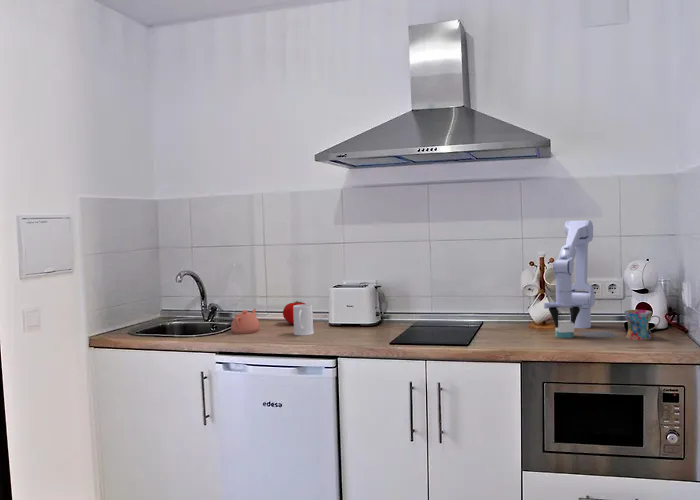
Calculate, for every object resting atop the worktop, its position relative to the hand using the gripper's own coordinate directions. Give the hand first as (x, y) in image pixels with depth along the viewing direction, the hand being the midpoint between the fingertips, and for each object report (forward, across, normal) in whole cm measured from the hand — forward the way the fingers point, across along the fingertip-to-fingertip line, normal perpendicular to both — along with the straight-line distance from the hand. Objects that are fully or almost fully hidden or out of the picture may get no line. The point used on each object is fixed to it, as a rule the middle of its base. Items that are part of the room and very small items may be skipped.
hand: (564, 327), depth 247 cm
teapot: (+5, -128, +35) cm, 133 cm away
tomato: (+5, -108, +52) cm, 120 cm away
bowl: (+4, 0, 0) cm, 4 cm away
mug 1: (+5, -102, +24) cm, 105 cm away
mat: (+4, +13, +2) cm, 14 cm away
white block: (+1, 0, 0) cm, 1 cm away
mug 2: (+5, +26, -7) cm, 27 cm away
